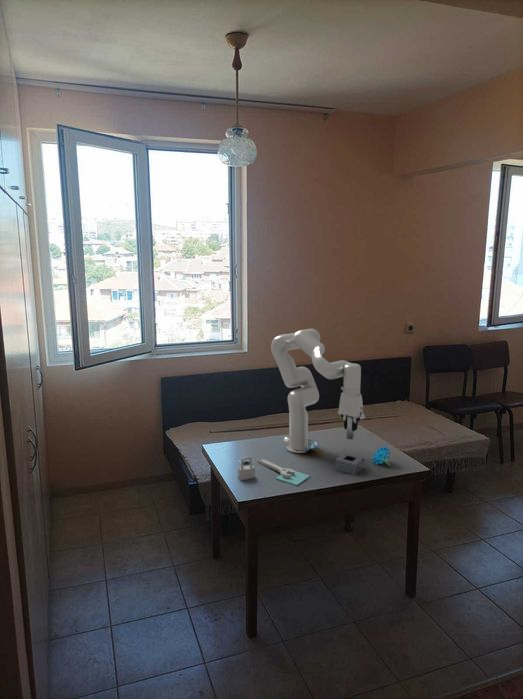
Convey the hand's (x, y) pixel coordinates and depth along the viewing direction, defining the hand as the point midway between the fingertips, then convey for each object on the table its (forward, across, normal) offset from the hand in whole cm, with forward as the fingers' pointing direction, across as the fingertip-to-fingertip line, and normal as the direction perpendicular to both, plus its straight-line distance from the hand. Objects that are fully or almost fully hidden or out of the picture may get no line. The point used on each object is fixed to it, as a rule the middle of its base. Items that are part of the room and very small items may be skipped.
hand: (350, 429), depth 227 cm
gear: (+20, +9, +15) cm, 27 cm away
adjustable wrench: (+19, -27, -21) cm, 39 cm away
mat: (+19, -16, -24) cm, 34 cm away
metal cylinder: (+4, 0, 0) cm, 4 cm away
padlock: (+20, -33, -36) cm, 52 cm away
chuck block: (+19, 0, 0) cm, 19 cm away
